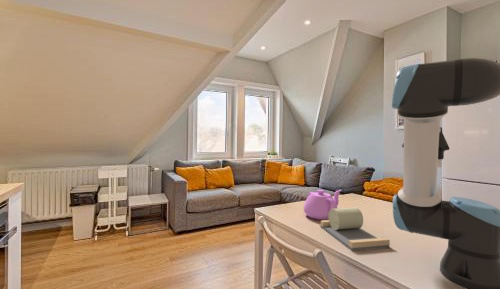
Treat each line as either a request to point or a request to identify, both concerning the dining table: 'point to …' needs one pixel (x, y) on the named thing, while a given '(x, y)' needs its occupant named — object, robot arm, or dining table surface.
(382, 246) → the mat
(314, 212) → the teapot
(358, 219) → the can
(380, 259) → the dining table surface
